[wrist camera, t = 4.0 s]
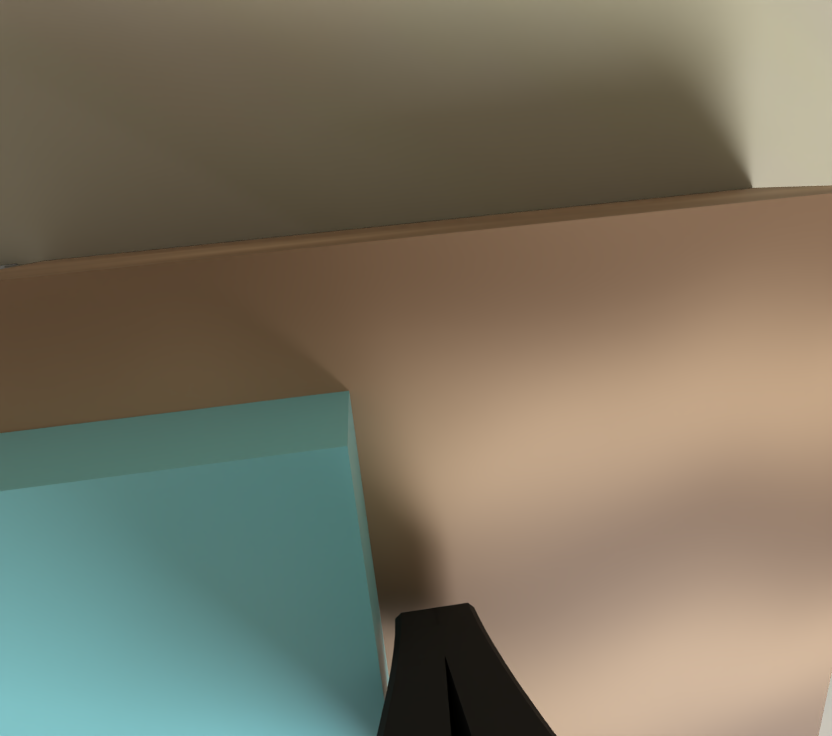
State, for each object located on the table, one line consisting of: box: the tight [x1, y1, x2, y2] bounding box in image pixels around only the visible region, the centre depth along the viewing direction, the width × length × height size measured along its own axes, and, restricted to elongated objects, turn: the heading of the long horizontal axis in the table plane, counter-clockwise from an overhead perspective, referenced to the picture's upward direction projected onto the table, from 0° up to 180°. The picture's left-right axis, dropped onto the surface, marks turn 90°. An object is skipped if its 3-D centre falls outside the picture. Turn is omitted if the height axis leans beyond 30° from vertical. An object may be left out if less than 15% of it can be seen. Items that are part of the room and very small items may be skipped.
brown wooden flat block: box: [0, 186, 832, 736], centre depth 12 cm, size 14×16×4 cm
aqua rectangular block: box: [0, 391, 389, 736], centre depth 9 cm, size 9×6×2 cm, turn 5°
